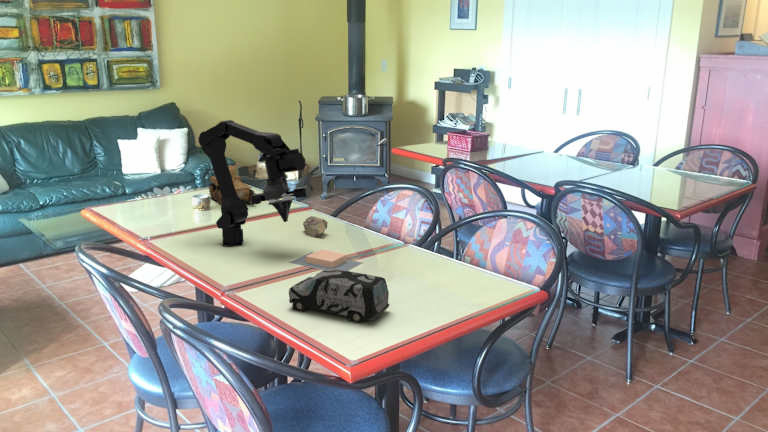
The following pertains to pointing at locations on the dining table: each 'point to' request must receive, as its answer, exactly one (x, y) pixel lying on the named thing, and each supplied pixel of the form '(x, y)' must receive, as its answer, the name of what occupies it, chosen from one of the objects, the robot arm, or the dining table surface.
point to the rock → (314, 226)
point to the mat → (344, 266)
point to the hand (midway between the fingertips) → (285, 221)
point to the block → (326, 259)
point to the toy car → (342, 294)
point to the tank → (240, 187)
